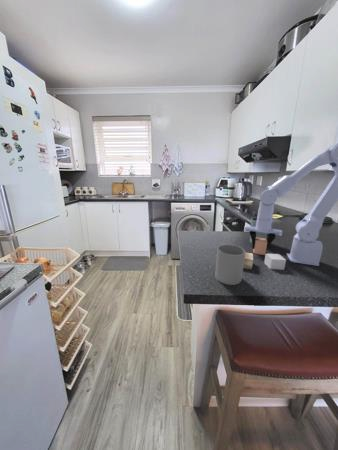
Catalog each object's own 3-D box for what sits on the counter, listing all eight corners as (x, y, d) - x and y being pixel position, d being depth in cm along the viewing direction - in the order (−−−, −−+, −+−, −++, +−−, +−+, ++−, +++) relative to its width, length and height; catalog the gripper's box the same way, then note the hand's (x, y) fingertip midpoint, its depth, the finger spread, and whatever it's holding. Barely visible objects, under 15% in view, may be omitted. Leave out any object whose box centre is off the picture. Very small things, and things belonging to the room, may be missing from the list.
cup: (221, 268, 68) (224, 242, 66) (244, 276, 63) (248, 249, 61) (210, 278, 62) (213, 250, 59) (235, 288, 57) (239, 257, 54)
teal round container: (264, 248, 88) (268, 223, 85) (243, 242, 96) (247, 218, 92) (273, 243, 95) (277, 220, 91) (253, 237, 102) (256, 216, 99)
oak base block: (251, 263, 74) (252, 253, 73) (251, 270, 68) (253, 259, 67) (235, 260, 76) (236, 250, 75) (234, 266, 71) (235, 256, 69)
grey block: (277, 263, 74) (279, 254, 73) (283, 270, 69) (286, 259, 68) (264, 262, 74) (265, 253, 73) (269, 269, 69) (271, 259, 68)
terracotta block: (263, 251, 85) (266, 238, 83) (265, 255, 81) (267, 242, 79) (253, 249, 86) (254, 237, 85) (253, 253, 82) (255, 240, 81)
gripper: (281, 218, 81) (276, 247, 85) (245, 215, 85) (241, 243, 89) (285, 222, 74) (279, 254, 78) (246, 218, 79) (242, 248, 83)
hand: (259, 248), depth 83 cm, fingers closed on terracotta block, 4 cm apart
